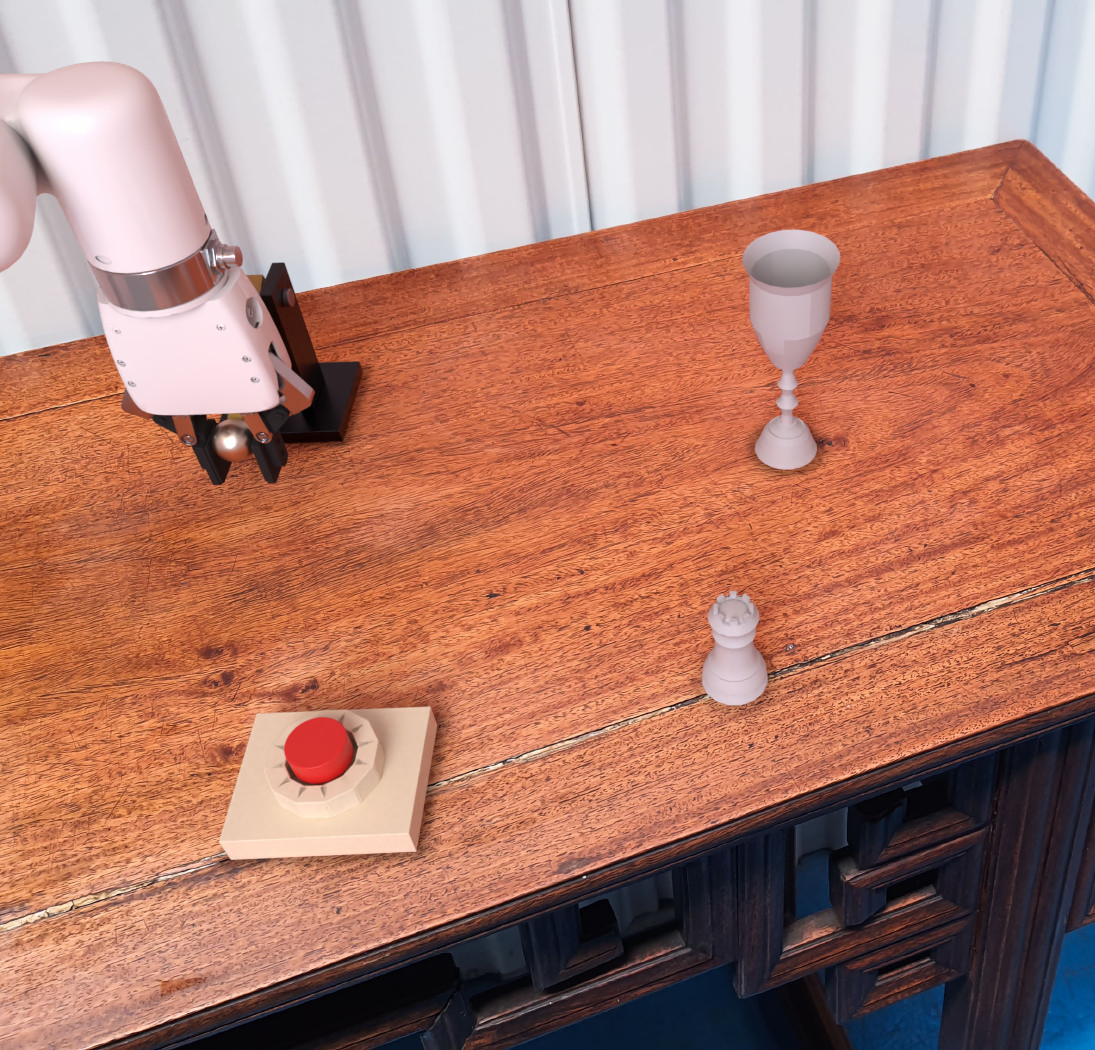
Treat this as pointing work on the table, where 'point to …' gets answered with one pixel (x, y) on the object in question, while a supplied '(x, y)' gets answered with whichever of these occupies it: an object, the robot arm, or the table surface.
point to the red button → (318, 750)
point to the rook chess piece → (734, 652)
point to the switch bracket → (309, 368)
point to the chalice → (789, 327)
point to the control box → (333, 788)
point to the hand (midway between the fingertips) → (249, 469)
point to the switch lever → (235, 422)
